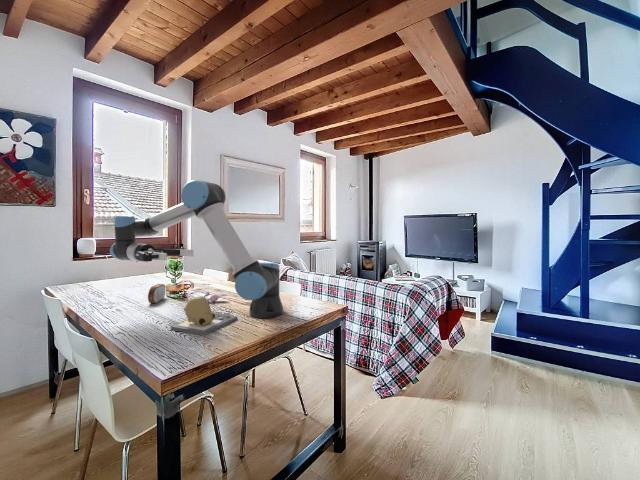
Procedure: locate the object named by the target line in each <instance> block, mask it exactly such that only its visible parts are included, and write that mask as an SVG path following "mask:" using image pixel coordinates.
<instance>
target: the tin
mask: <svg viewBox="0 0 640 480" xmlns="http://www.w3.org/2000/svg"><path fill="white" fill-rule="evenodd" d="M166 287H167V286H166V285H165V284H163V283H158V284H155V285H153V286H151V287H149V288H150V289H149V290H148V294H147V301H148V302H149V304H157V303H158V302H160V301H162V300H164V298H165V297H166V296H165V295H166Z"/></svg>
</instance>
